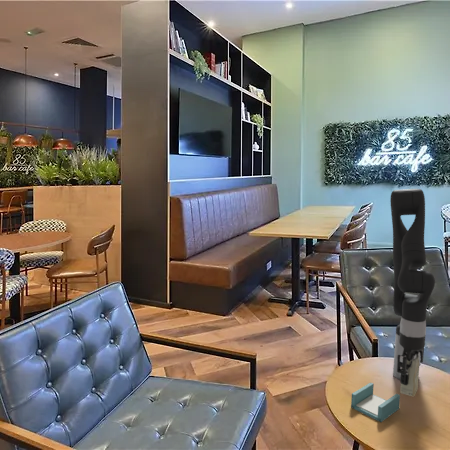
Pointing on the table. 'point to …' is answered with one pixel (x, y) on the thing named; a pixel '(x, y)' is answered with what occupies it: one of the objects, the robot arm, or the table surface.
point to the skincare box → (411, 379)
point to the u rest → (374, 403)
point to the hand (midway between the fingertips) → (409, 380)
